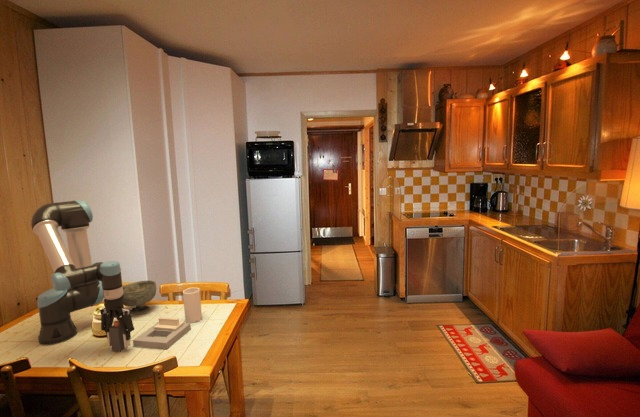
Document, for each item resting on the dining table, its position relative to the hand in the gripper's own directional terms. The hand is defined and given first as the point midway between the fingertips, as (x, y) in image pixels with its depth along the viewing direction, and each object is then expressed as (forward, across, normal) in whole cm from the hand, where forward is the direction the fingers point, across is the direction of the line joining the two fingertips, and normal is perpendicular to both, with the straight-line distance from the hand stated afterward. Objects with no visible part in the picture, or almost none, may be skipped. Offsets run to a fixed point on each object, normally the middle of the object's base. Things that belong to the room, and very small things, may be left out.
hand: (119, 345), depth 158 cm
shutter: (-2, +13, +17) cm, 22 cm away
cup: (+2, +17, +32) cm, 36 cm away
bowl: (+2, -20, +37) cm, 42 cm away
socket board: (+2, +13, +13) cm, 18 cm away
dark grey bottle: (+2, 0, 0) cm, 2 cm away
